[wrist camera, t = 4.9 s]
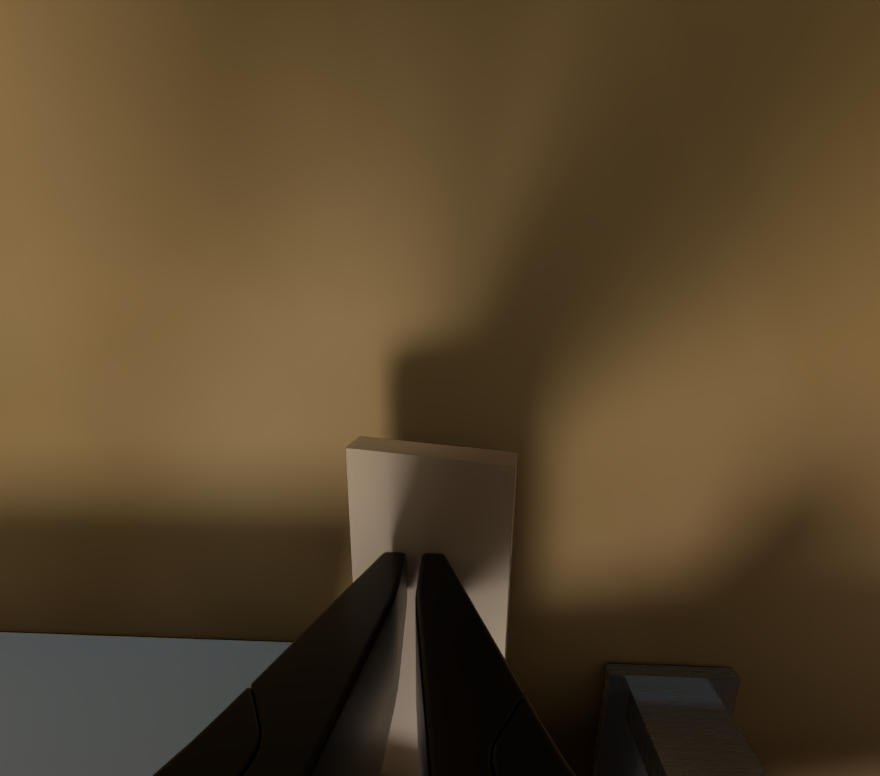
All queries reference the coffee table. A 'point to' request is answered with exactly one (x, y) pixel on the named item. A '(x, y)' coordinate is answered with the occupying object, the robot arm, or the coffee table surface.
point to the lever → (432, 542)
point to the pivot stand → (671, 723)
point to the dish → (114, 699)
